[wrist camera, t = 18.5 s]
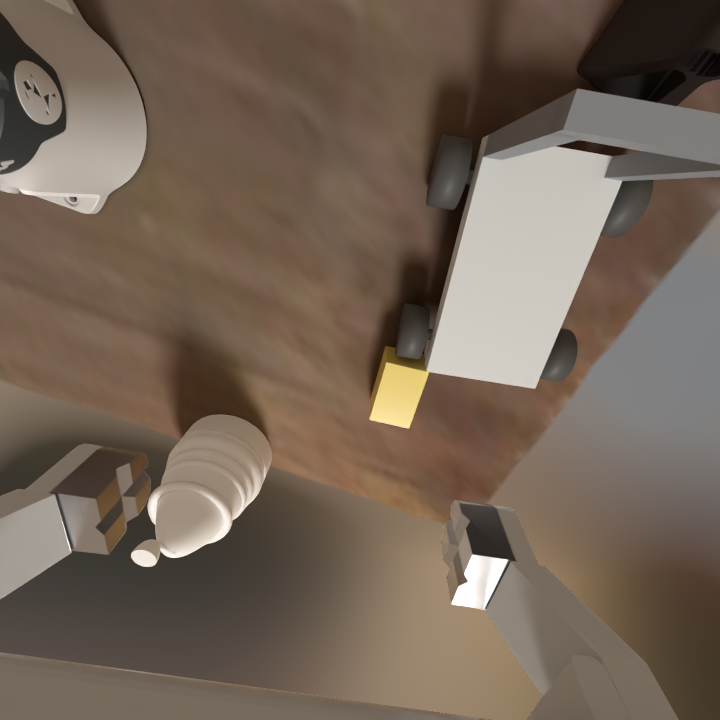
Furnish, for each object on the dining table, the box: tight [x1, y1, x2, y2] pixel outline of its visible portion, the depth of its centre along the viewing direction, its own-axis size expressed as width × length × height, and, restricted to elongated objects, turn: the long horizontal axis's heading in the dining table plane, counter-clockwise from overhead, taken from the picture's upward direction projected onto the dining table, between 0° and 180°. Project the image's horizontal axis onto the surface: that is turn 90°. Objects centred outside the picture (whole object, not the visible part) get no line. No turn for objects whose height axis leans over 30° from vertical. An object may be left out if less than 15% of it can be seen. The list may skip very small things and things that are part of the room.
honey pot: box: [131, 414, 272, 567], centre depth 45 cm, size 13×13×18 cm
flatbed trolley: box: [395, 89, 720, 389], centre depth 30 cm, size 22×18×21 cm
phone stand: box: [577, 0, 720, 106], centre depth 27 cm, size 9×6×12 cm, turn 59°
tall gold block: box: [369, 346, 429, 429], centre depth 44 cm, size 5×8×5 cm, turn 167°
